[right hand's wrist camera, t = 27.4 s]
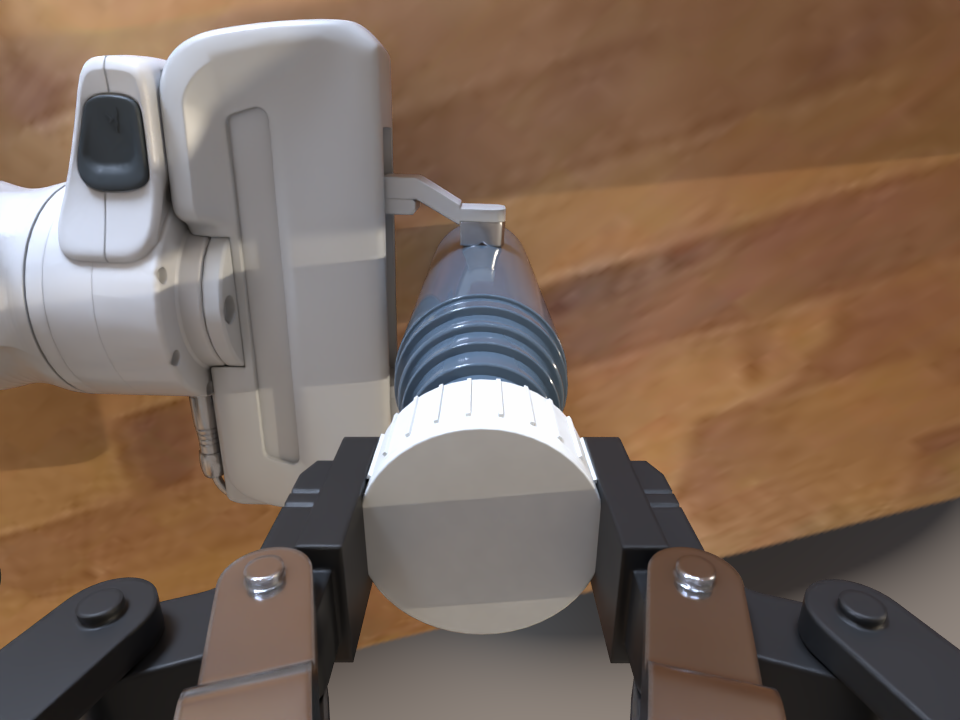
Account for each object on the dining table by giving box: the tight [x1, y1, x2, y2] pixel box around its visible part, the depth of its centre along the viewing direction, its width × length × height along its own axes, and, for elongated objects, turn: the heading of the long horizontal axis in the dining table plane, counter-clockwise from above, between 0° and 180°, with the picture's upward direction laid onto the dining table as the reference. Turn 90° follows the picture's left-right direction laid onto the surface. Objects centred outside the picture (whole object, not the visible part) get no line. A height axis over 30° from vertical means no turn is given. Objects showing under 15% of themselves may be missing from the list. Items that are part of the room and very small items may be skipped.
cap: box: [362, 378, 601, 634], centre depth 11 cm, size 4×4×2 cm
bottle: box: [394, 226, 568, 413], centre depth 21 cm, size 5×5×21 cm
